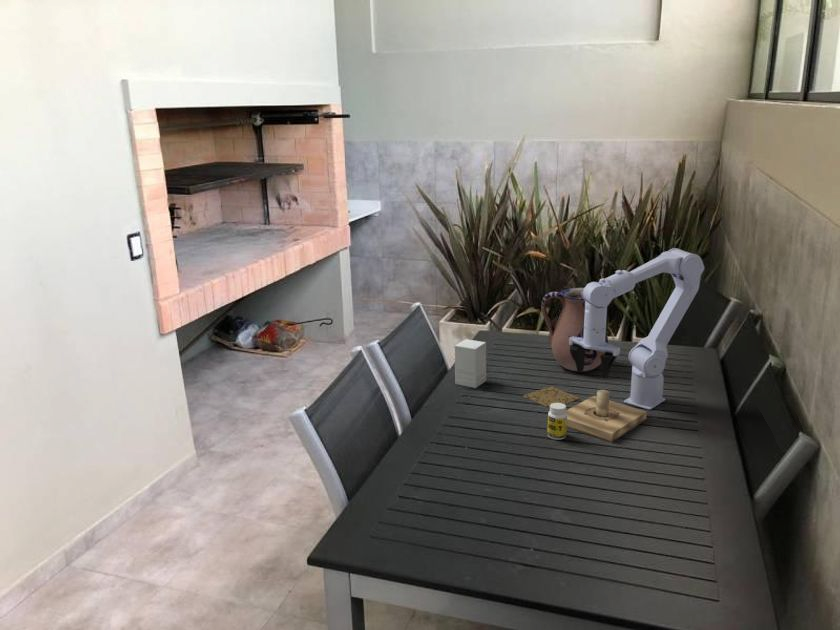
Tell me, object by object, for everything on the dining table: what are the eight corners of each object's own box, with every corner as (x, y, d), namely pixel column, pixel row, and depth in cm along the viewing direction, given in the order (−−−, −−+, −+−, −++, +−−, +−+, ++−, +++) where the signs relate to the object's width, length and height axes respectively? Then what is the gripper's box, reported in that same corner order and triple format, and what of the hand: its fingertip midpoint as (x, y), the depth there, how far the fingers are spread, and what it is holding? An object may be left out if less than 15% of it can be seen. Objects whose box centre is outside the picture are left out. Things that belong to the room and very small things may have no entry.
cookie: (582, 400, 197) (582, 397, 197) (552, 410, 190) (552, 407, 190) (551, 387, 206) (552, 384, 206) (522, 397, 200) (522, 394, 199)
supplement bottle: (544, 438, 173) (545, 407, 171) (550, 430, 177) (551, 400, 175) (563, 441, 171) (564, 410, 169) (568, 434, 175) (569, 403, 173)
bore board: (593, 403, 193) (593, 395, 193) (646, 419, 182) (646, 411, 182) (556, 423, 181) (557, 415, 180) (611, 442, 170) (611, 433, 170)
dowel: (600, 416, 184) (601, 388, 182) (610, 420, 181) (612, 392, 179) (593, 420, 182) (594, 392, 180) (603, 423, 180) (604, 395, 177)
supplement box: (486, 380, 211) (487, 342, 208) (475, 388, 205) (475, 348, 202) (465, 376, 215) (465, 338, 212) (454, 384, 209) (453, 345, 206)
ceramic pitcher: (612, 376, 213) (617, 298, 206) (544, 377, 213) (547, 299, 206) (599, 357, 229) (603, 285, 222) (536, 358, 230) (538, 286, 223)
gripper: (563, 325, 186) (561, 371, 190) (611, 336, 176) (608, 385, 180) (577, 319, 191) (575, 365, 195) (625, 329, 181) (622, 377, 185)
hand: (592, 374), depth 188 cm, fingers open, 7 cm apart
